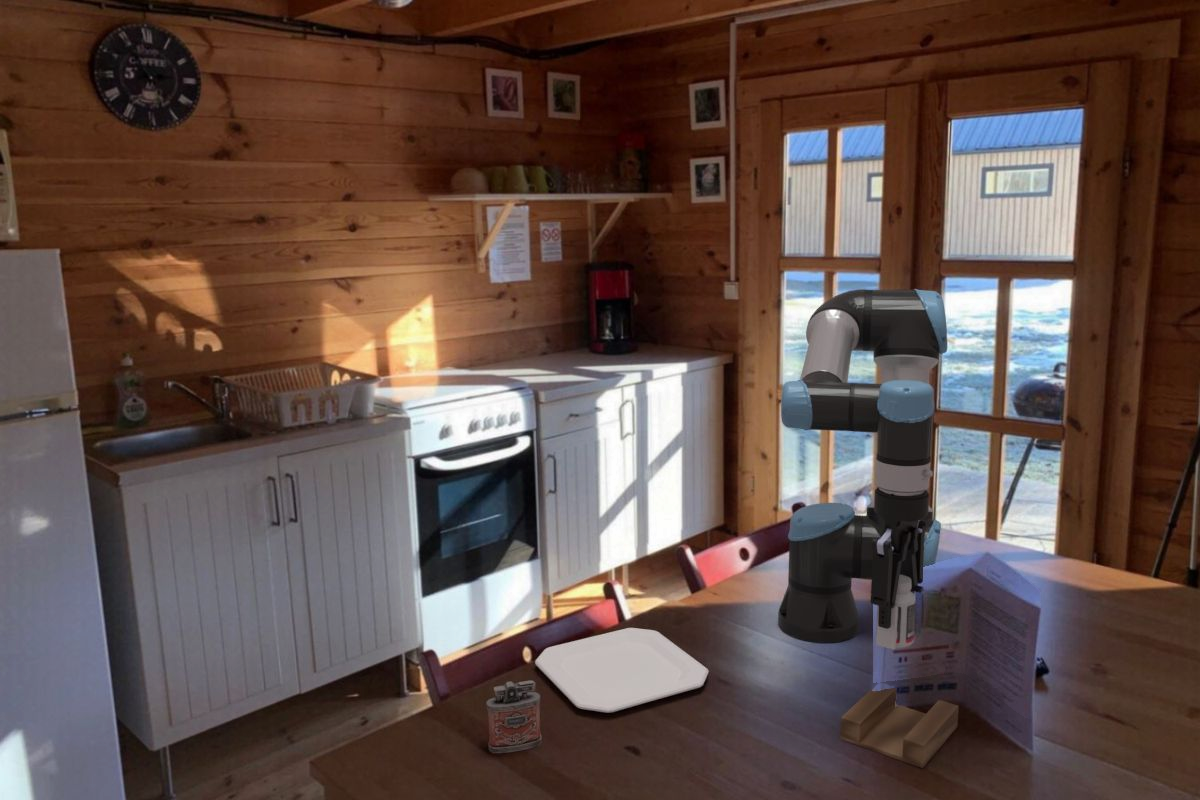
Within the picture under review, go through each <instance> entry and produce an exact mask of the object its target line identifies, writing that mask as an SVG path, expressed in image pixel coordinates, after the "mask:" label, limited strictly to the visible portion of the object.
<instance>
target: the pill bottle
mask: <svg viewBox="0 0 1200 800" xmlns="http://www.w3.org/2000/svg"><path fill="white" fill-rule="evenodd" d="M911 588H912V586H911V579H910V578H909V577H907V576H905V575H900V576H899V582H898V588H897V595H896V601H895V605H896V606H898V616H897V638H896V648H895V649H900V648H901V649H902V648H903V649H904V648H908V647H910V646H911V645H913V644H914V641H915V626H916V625H915V622H916V602H917V601H916V594H915V595H914V594H913V593H912V592H911V591H910V590H911ZM876 607H877V609H876V612H877V613H876V618H877V617H878V605H876ZM876 637H877V634H876Z"/></svg>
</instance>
